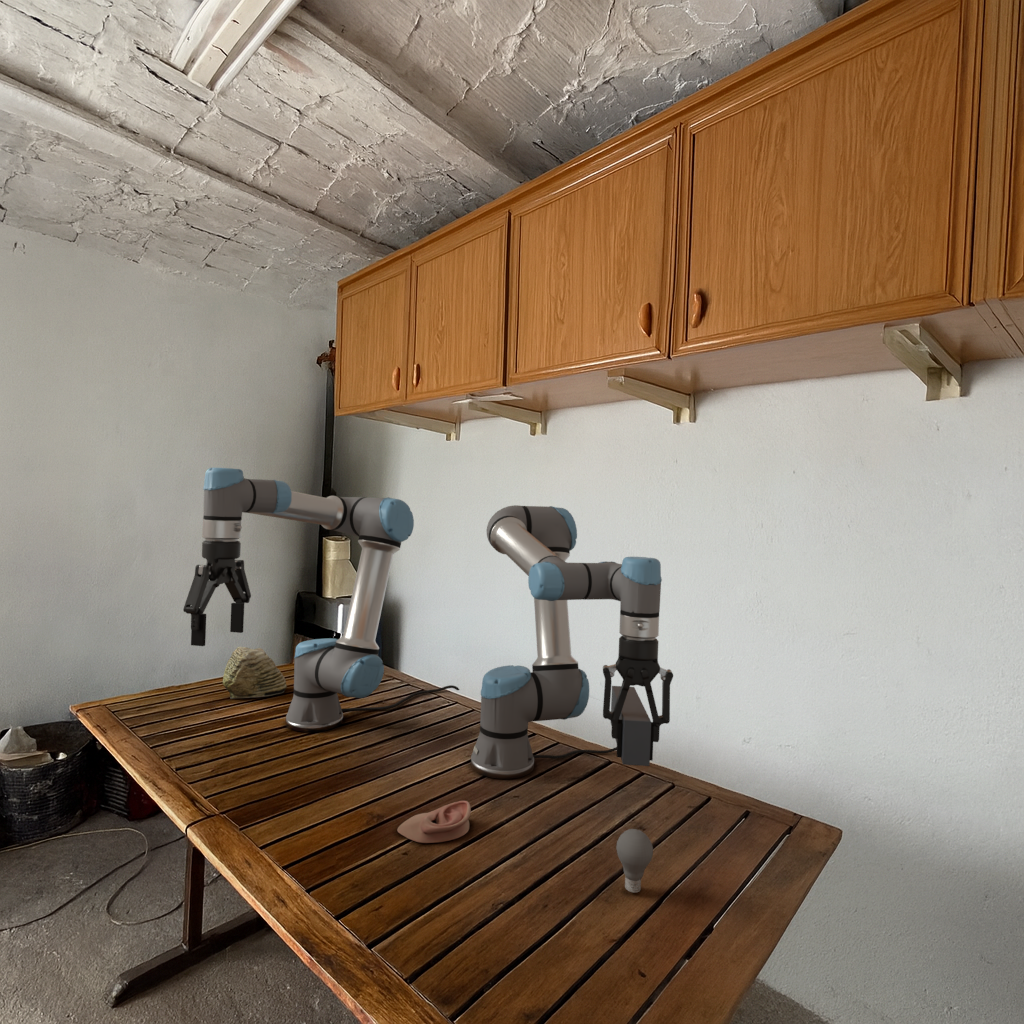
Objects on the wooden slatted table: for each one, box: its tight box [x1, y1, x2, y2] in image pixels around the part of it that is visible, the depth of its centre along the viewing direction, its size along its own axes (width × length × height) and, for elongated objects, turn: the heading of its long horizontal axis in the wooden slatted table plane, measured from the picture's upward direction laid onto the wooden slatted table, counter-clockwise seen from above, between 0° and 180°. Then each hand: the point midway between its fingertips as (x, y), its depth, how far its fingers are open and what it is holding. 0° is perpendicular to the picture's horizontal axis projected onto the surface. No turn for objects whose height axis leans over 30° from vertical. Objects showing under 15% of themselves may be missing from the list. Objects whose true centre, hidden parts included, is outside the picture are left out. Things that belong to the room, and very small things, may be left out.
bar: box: [610, 685, 652, 767], centre depth 132 cm, size 24×5×8 cm, turn 177°
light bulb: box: [615, 828, 654, 894], centre depth 106 cm, size 6×6×10 cm
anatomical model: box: [396, 800, 472, 844], centre depth 123 cm, size 13×4×12 cm
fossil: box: [222, 646, 288, 699], centre depth 198 cm, size 9×18×15 cm, turn 132°
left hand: (218, 638), depth 136 cm, fingers open, 13 cm apart
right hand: (634, 756), depth 123 cm, fingers closed on bar, 5 cm apart
